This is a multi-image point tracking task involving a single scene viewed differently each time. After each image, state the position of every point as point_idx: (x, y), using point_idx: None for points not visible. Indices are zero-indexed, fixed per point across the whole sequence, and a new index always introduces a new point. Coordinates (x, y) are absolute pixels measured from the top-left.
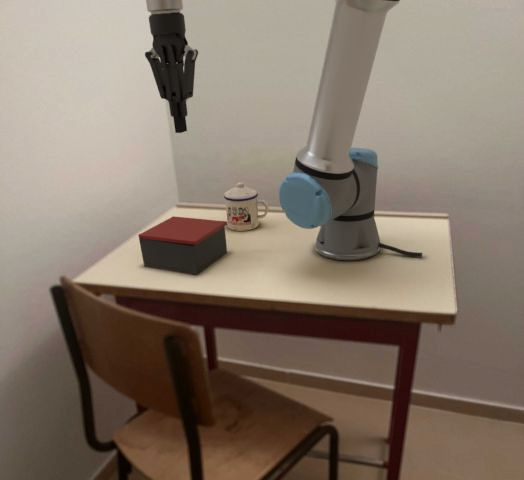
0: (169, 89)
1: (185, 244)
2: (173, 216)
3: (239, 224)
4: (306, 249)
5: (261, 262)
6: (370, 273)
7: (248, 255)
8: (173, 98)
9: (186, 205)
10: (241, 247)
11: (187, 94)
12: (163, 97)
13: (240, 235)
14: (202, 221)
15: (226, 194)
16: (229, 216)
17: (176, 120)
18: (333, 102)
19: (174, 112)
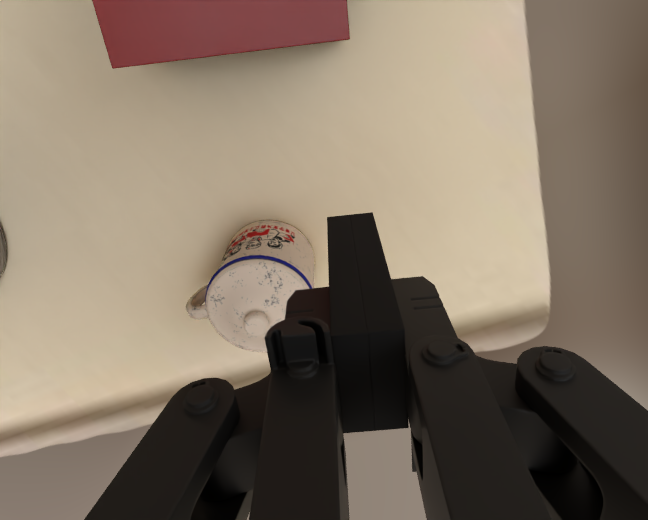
0: (444, 441)
1: None
2: (346, 37)
3: (248, 229)
4: (2, 185)
5: (26, 45)
6: None
7: (97, 75)
8: (411, 392)
9: (533, 329)
10: (160, 119)
11: (158, 419)
12: (531, 355)
13: (229, 197)
14: (195, 31)
15: (286, 274)
16: (279, 236)
17: (355, 251)
18: None
19: (370, 281)
